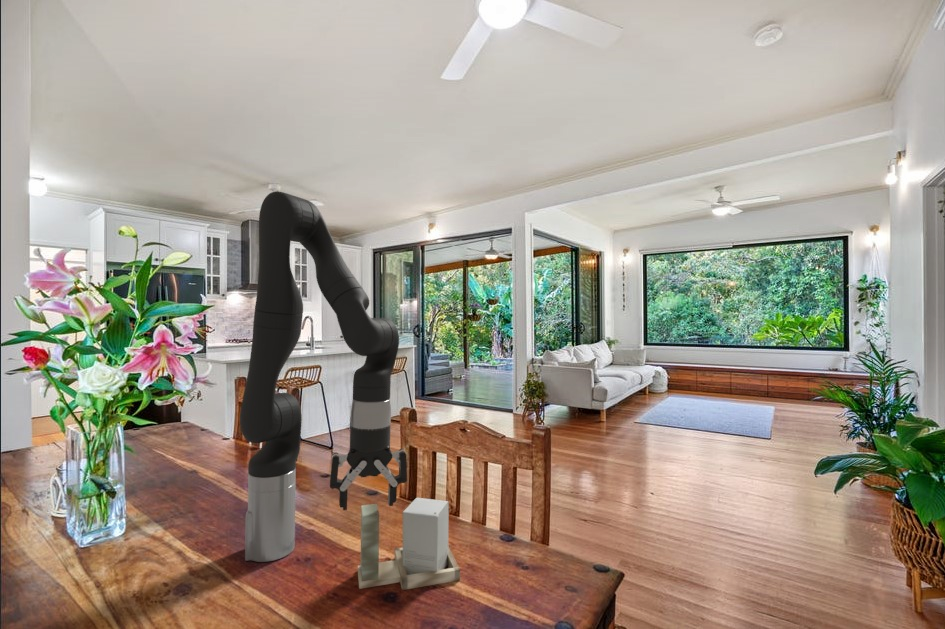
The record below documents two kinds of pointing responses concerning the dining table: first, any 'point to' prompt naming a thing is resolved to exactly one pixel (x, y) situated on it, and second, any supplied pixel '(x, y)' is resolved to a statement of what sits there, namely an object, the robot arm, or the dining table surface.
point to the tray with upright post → (394, 570)
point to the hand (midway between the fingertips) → (368, 506)
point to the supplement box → (425, 536)
